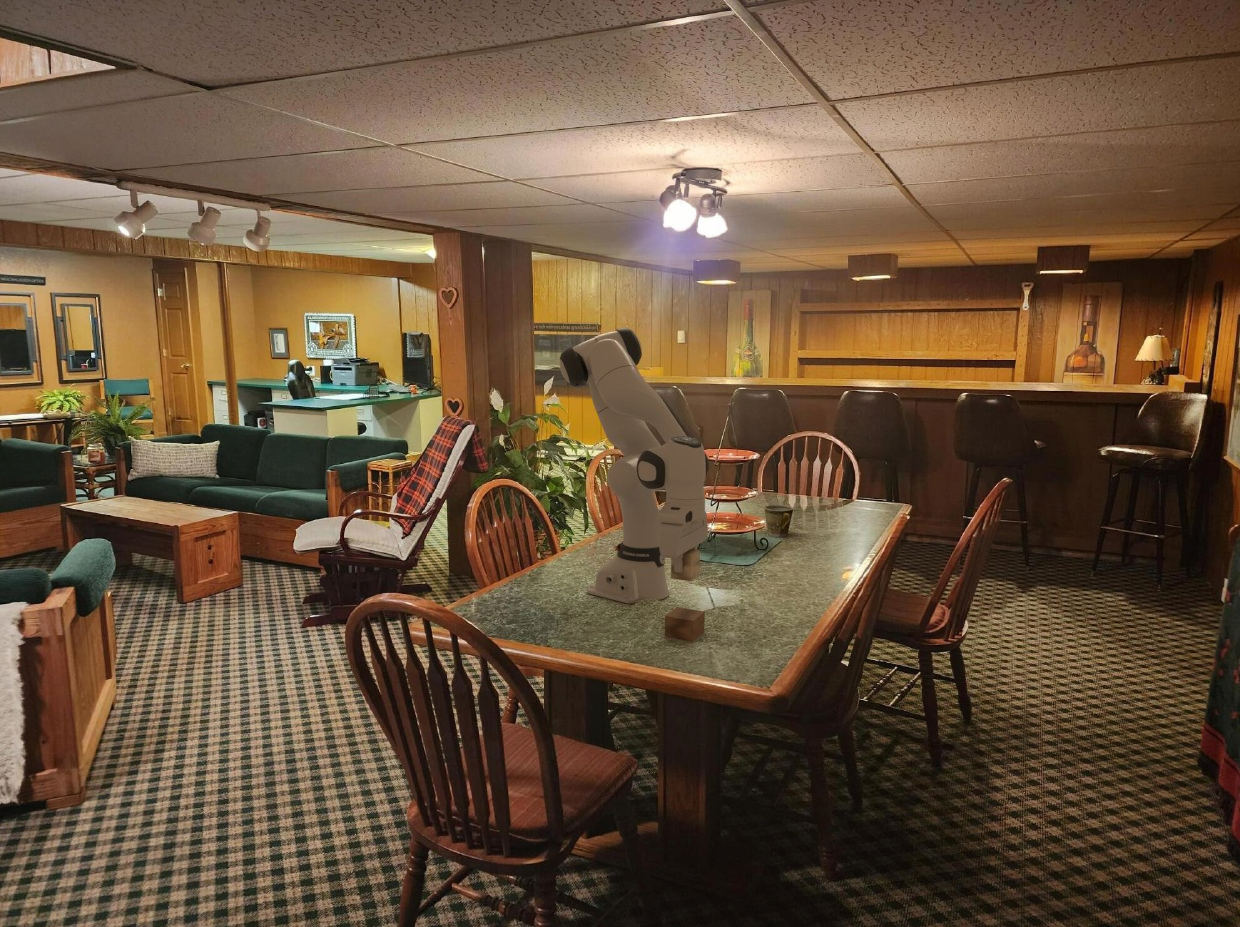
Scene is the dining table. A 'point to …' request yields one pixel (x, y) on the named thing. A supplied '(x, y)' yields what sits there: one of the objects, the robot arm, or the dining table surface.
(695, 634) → the walnut block
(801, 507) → the dining table surface
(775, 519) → the ceramic cup
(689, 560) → the maple block
